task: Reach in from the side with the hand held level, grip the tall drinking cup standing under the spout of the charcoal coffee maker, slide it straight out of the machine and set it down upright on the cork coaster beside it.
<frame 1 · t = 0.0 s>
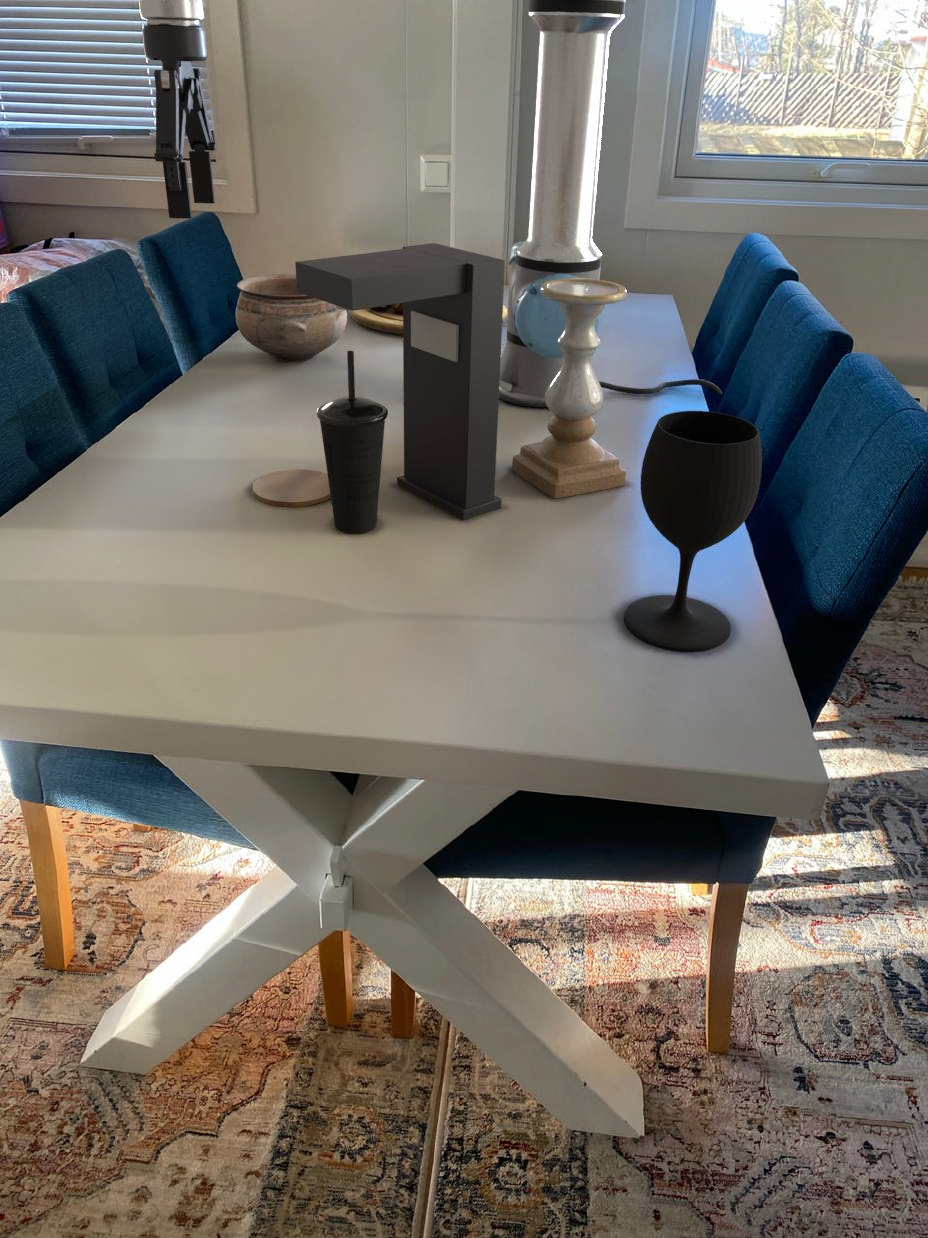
hand: (193, 210, 130), 28 cm above the table, tool pointing down, fingers open, 13 cm apart
cooking pot: (294, 357, 171), on the table
wine glass: (676, 625, 95), on the table
wooden plate: (429, 318, 198), on the table
coaster: (295, 489, 121), on the table
coffee maker: (355, 525, 112), on the table
candle holder: (567, 478, 126), on the table
drinking cup: (356, 526, 112), on the table
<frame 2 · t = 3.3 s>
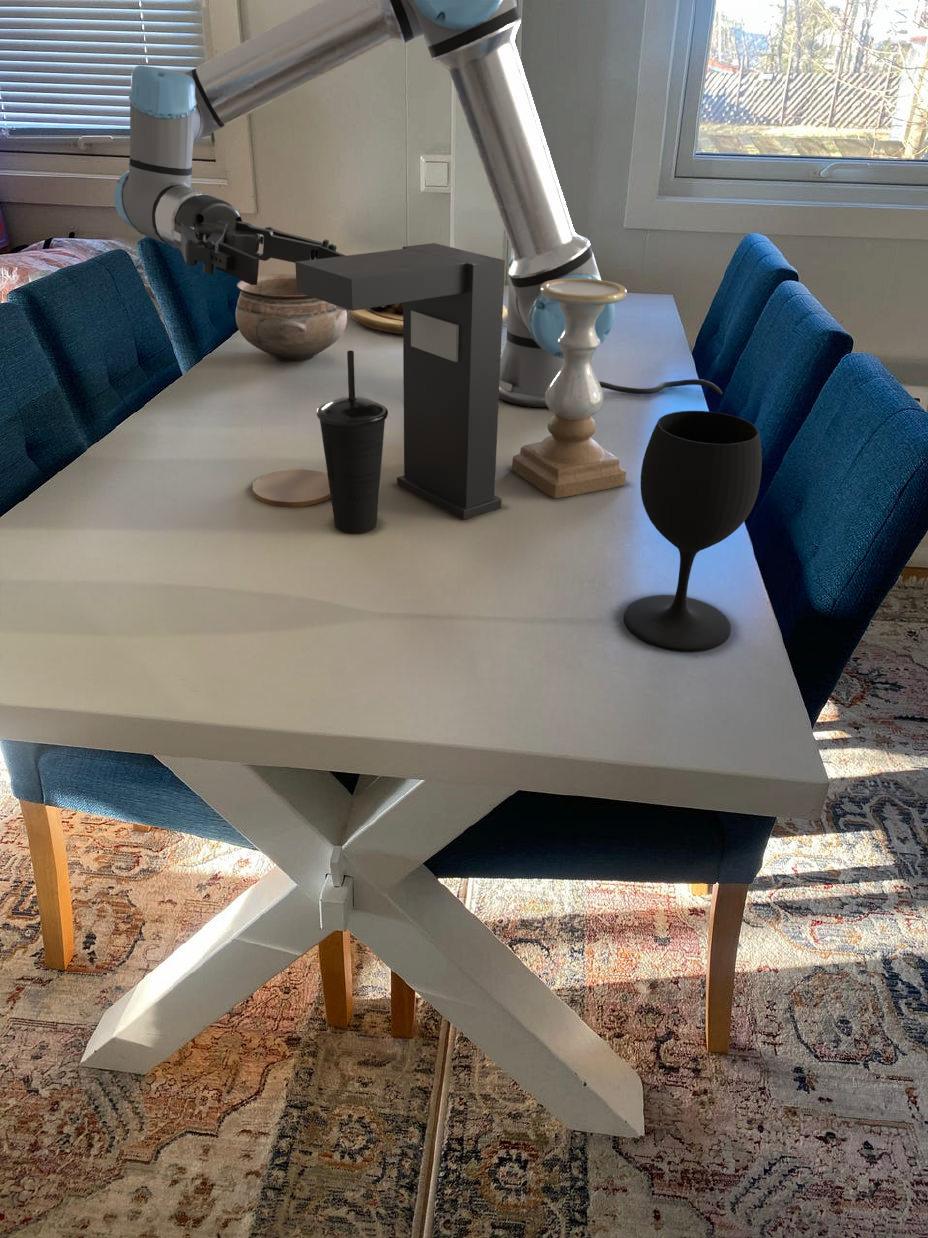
hand: (307, 272, 107), 26 cm above the table, tool horizontal, fingers open, 13 cm apart
nothing on the table moved.
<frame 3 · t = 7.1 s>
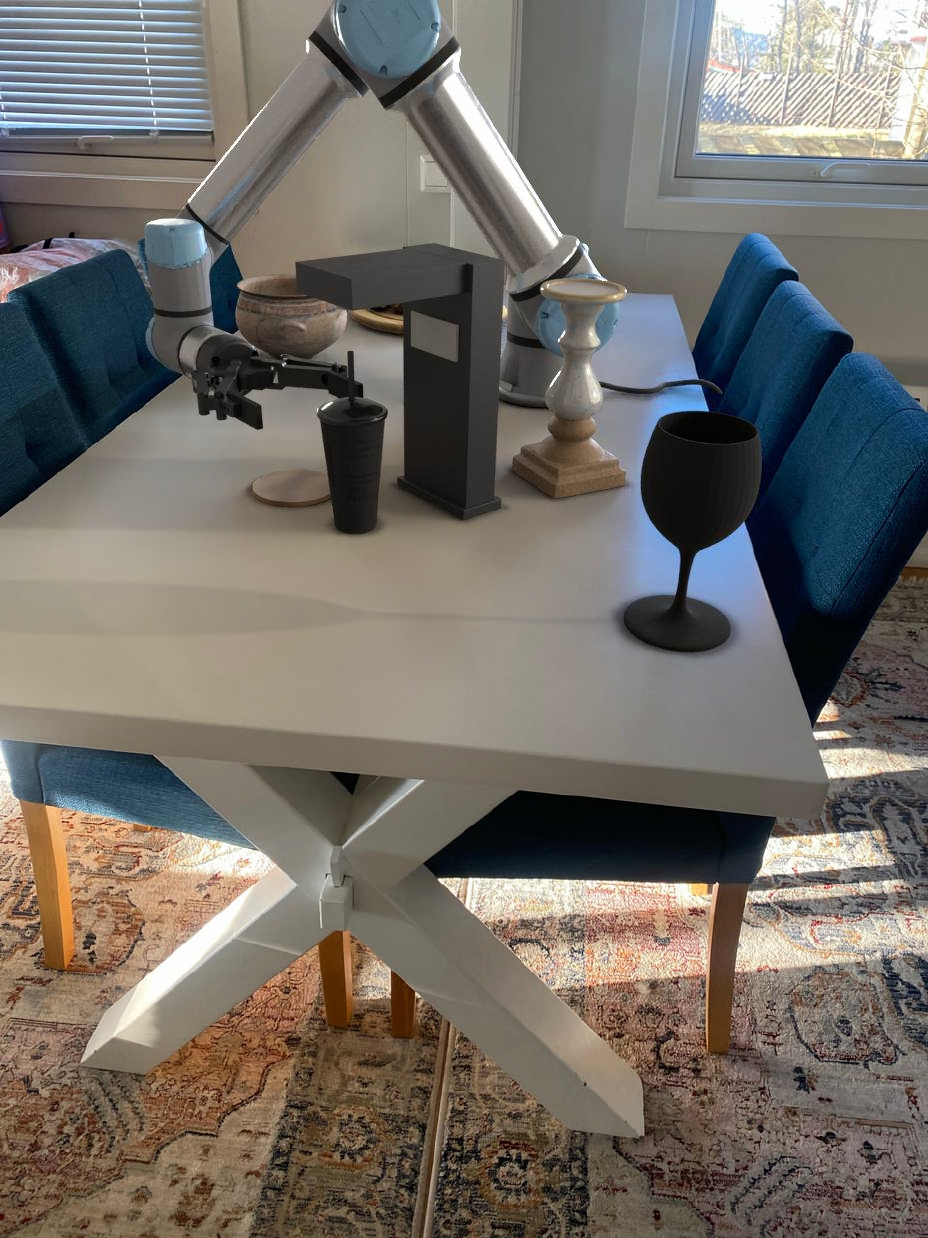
hand: (312, 406, 111), 12 cm above the table, tool horizontal, fingers open, 13 cm apart
nothing on the table moved.
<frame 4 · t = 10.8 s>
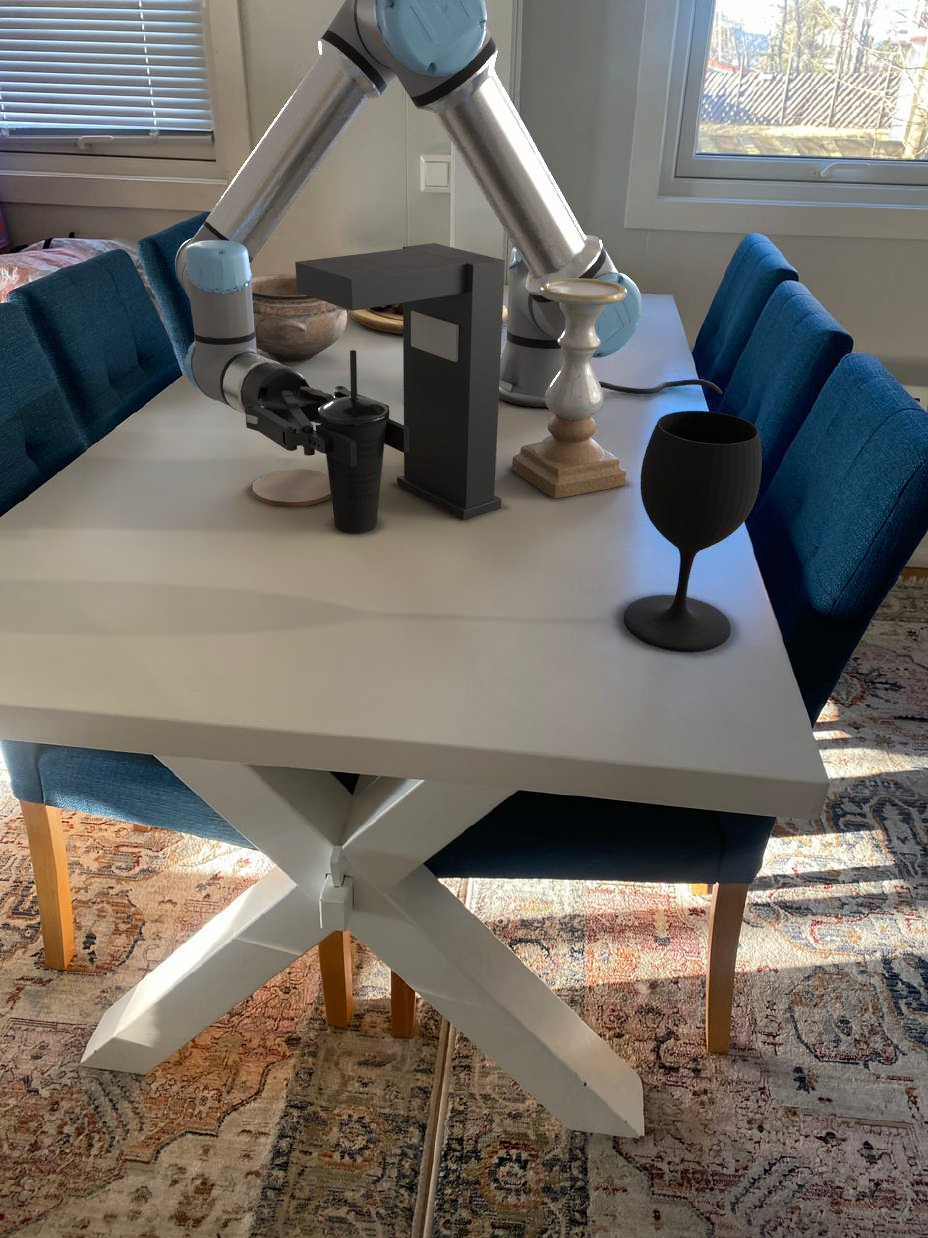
hand: (380, 446, 103), 11 cm above the table, tool horizontal, fingers closed on drinking cup, 6 cm apart
drinking cup: (356, 526, 112), on the table, touching gripper
everything else where it was.
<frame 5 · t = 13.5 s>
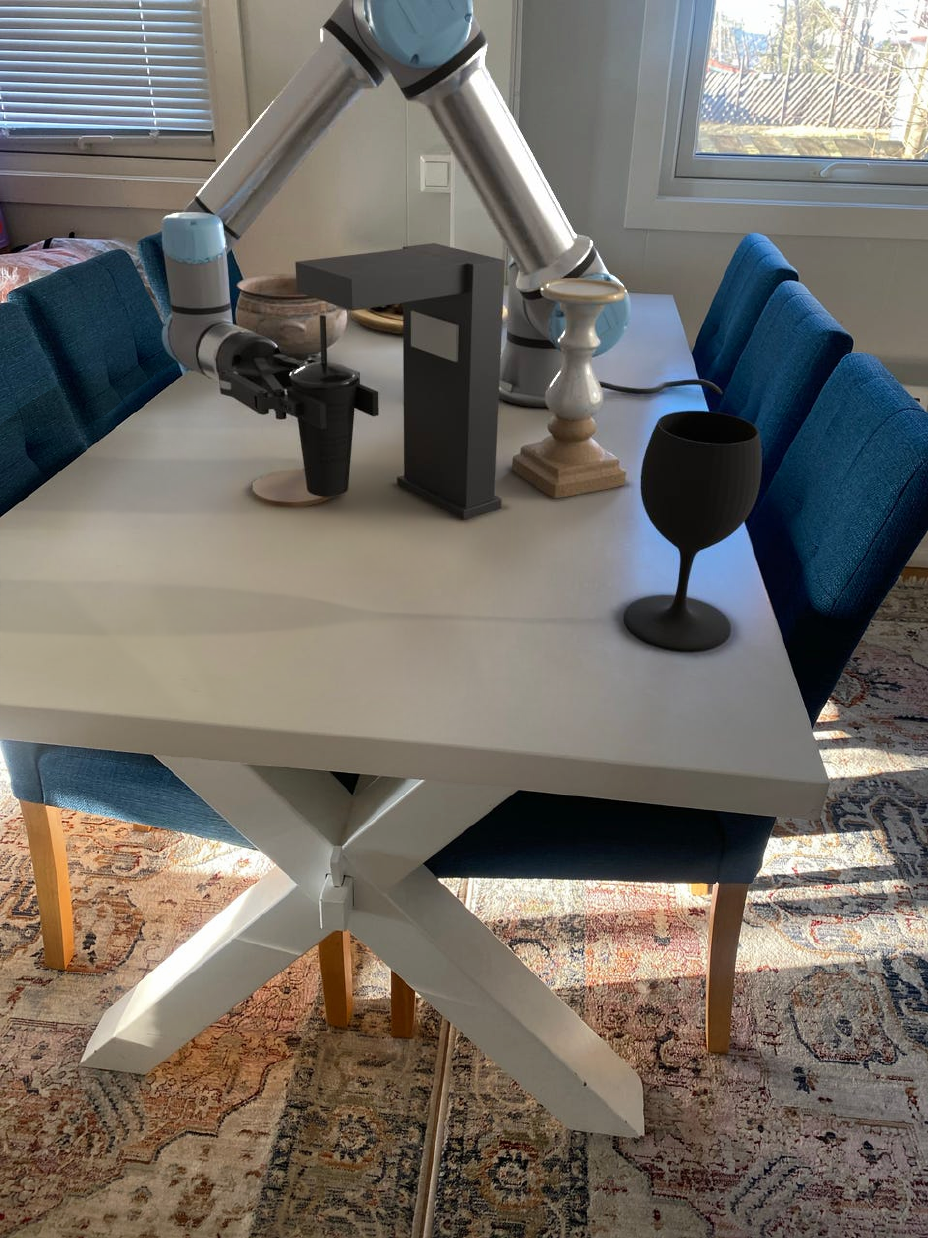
hand: (349, 409, 106), 13 cm above the table, tool horizontal, fingers closed on drinking cup, 6 cm apart
drinking cup: (328, 490, 115), point 2 cm above the table, touching gripper
everything else where it was.
when the fingers open (12 cm above the table, at t = 16.3 s): drinking cup stays where it is, resting on coaster.
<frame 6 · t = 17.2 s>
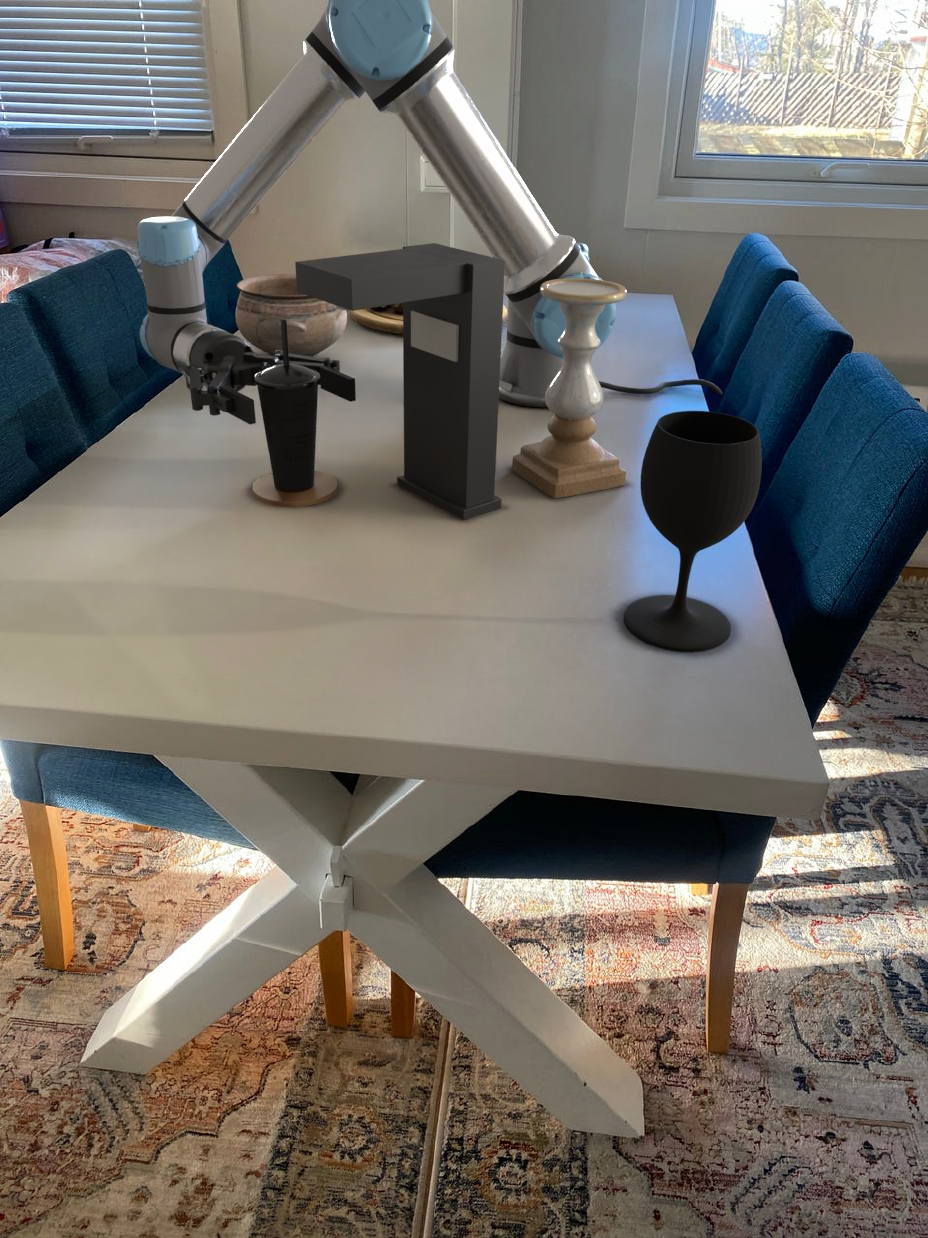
hand: (304, 400, 112), 12 cm above the table, tool horizontal, fingers open, 13 cm apart
drinking cup: (294, 486, 120), resting on coaster
everything else where it was.
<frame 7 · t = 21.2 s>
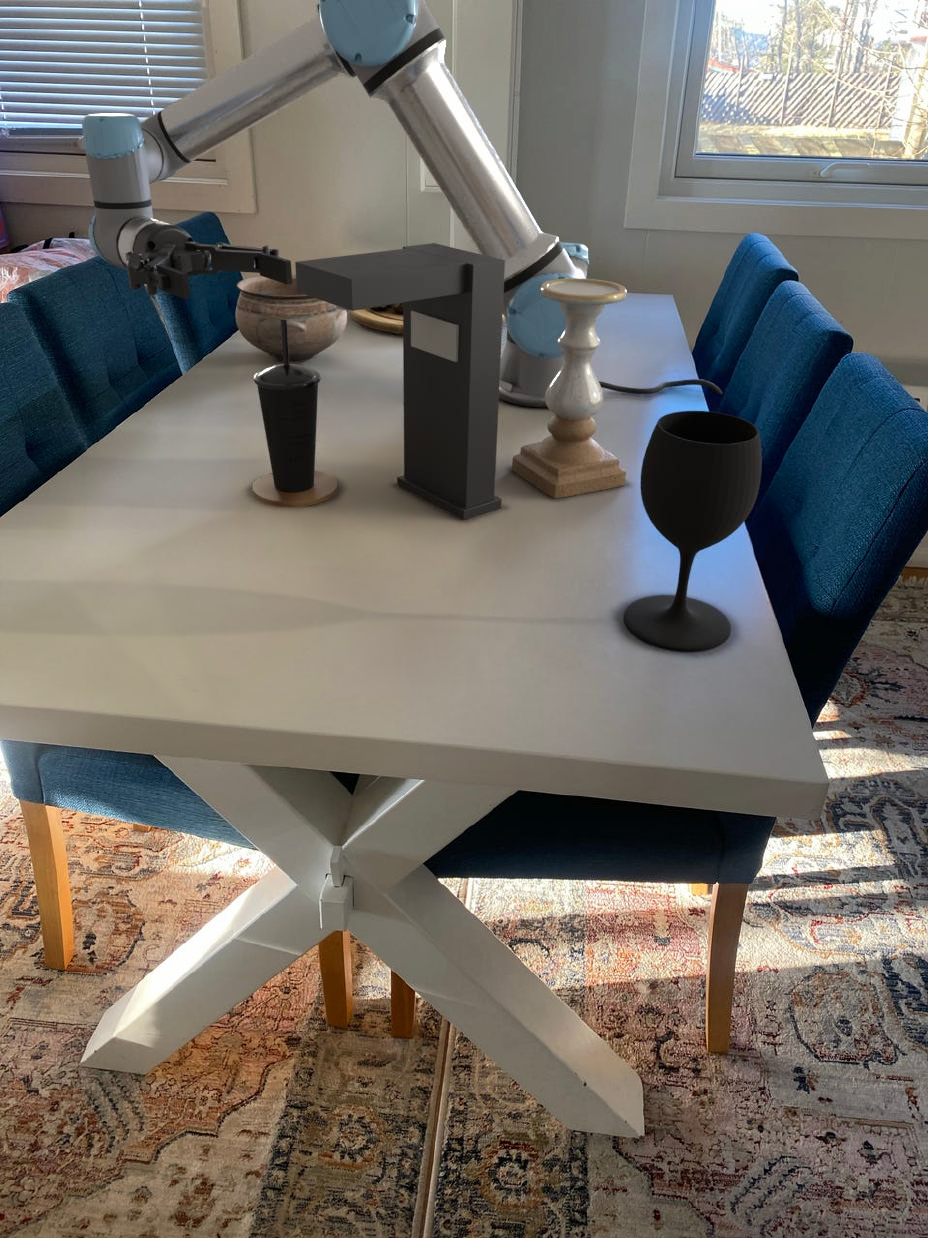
hand: (239, 279, 115), 23 cm above the table, tool horizontal, fingers open, 13 cm apart
nothing on the table moved.
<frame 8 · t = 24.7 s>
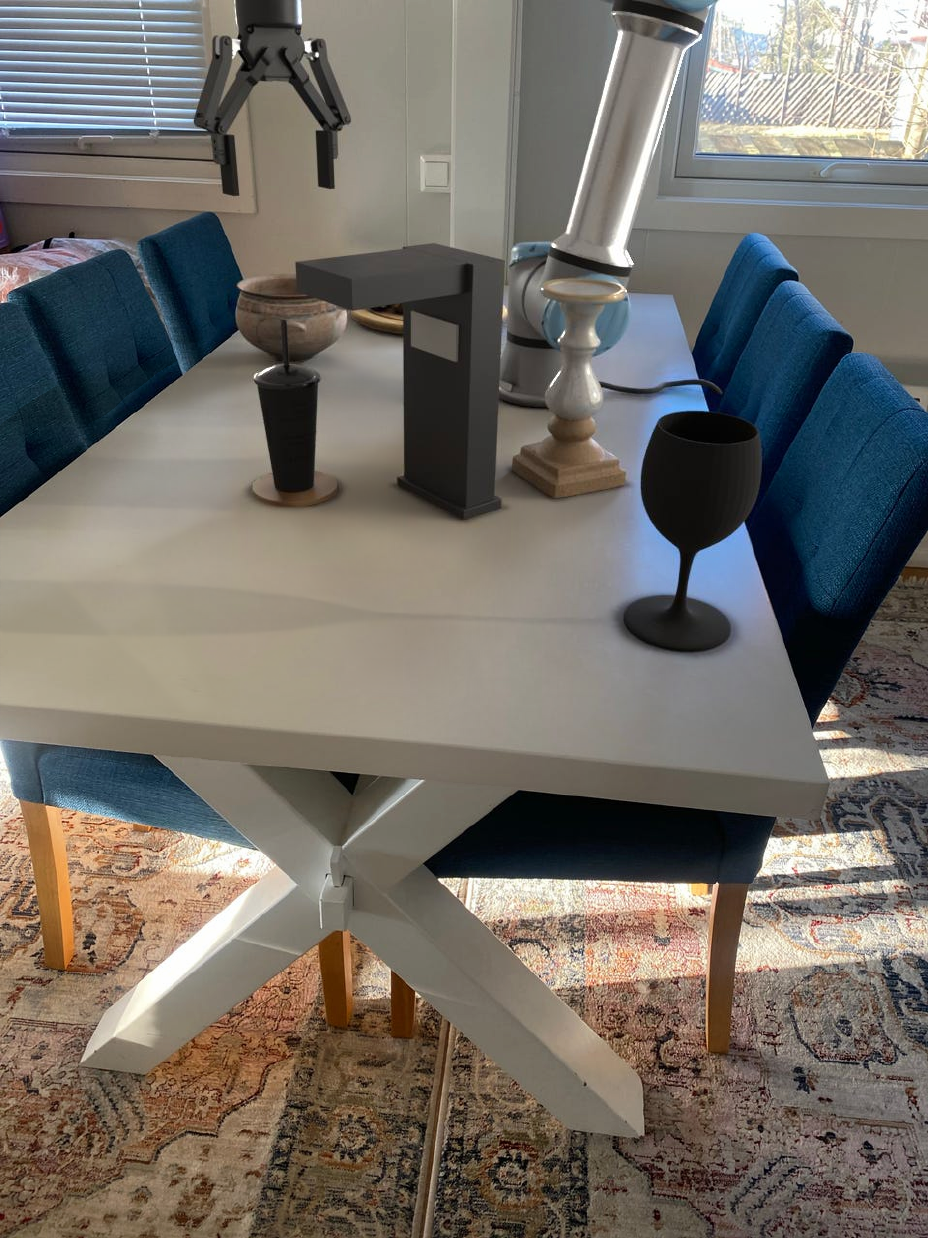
hand: (280, 191, 121), 32 cm above the table, tool pointing down, fingers open, 13 cm apart
nothing on the table moved.
at the end: drinking cup 0.1 cm off-centre on the coaster, point 0.4 cm above the coaster's base; drinking cup tilted 0°; the gripper is holding nothing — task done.
